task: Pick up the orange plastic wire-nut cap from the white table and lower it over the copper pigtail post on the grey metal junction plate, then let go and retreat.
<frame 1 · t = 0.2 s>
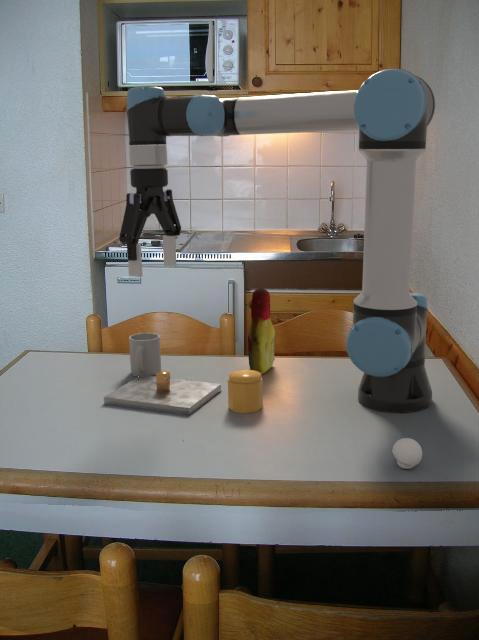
hand: (153, 271, 155), 27 cm above the table, fingers open, 13 cm apart
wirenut: (245, 407, 153), on the table
mushroom: (406, 468, 123), on the table
cup: (144, 375, 176), on the table
junction plate: (163, 397, 160), on the table
bottle: (260, 370, 178), on the table
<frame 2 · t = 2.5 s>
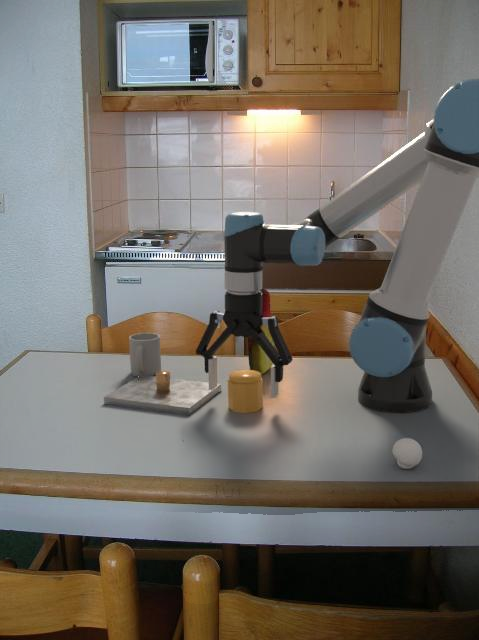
hand: (243, 392, 152), 3 cm above the table, fingers open, 13 cm apart
nothing on the table moved.
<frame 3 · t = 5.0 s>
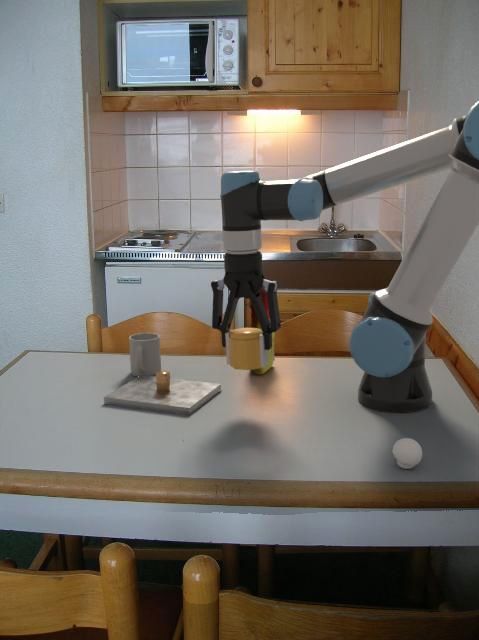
hand: (247, 363, 150), 9 cm above the table, fingers closed on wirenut, 7 cm apart
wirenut: (247, 365, 151), point 9 cm above the table, touching gripper
everything else where it was.
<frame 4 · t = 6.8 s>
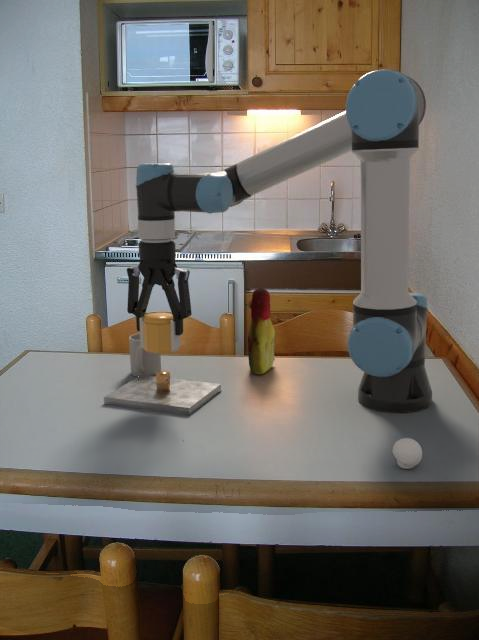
hand: (160, 347, 157), 11 cm above the table, fingers closed on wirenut, 7 cm apart
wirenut: (160, 348, 158), point 11 cm above the table, touching gripper
everything else where it was.
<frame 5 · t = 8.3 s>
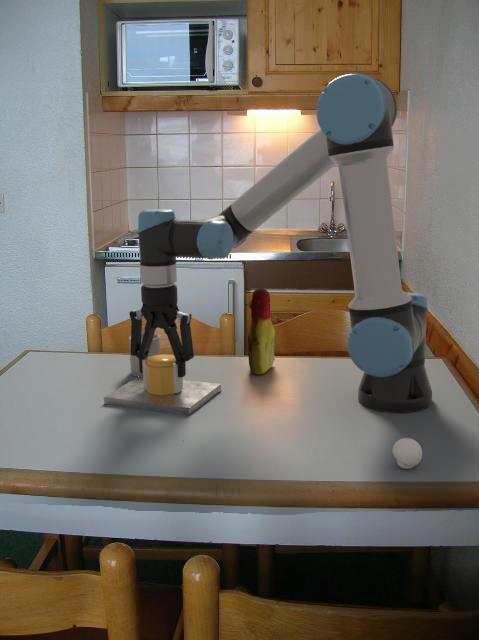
hand: (163, 389, 160), 2 cm above the table, fingers closed on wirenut, 7 cm apart
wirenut: (163, 390, 160), point 2 cm above the table, touching gripper
everything else where it was.
when the fingers open (2 cm above the table, at t = 9.0 s): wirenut stays where it is, resting on junction plate.
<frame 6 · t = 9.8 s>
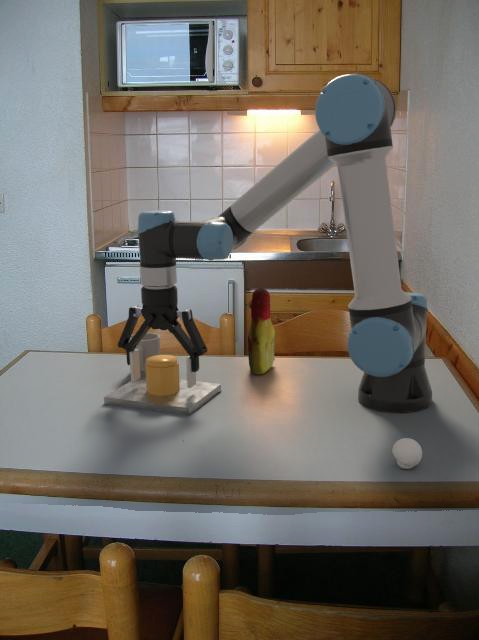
hand: (163, 382, 159), 3 cm above the table, fingers open, 13 cm apart
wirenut: (163, 390, 160), point 1 cm above the table, touching junction plate
everything else where it was.
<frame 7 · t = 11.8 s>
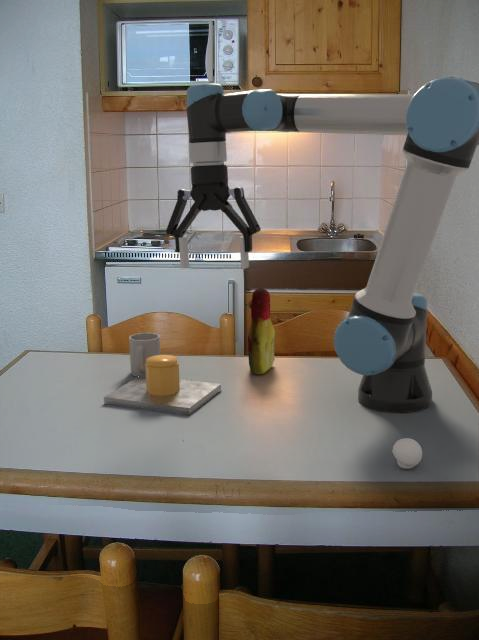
hand: (214, 267, 155), 28 cm above the table, fingers open, 13 cm apart
nothing on the table moved.
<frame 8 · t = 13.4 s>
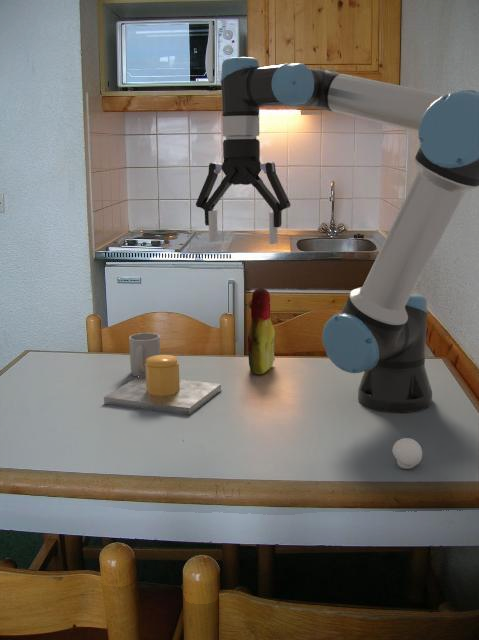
hand: (243, 242, 156), 33 cm above the table, fingers open, 13 cm apart
nothing on the table moved.
at the end: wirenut 0.1 cm off-centre on the junction plate, point 1.5 cm above the junction plate's base; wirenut tilted 0°; the gripper is holding nothing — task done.
